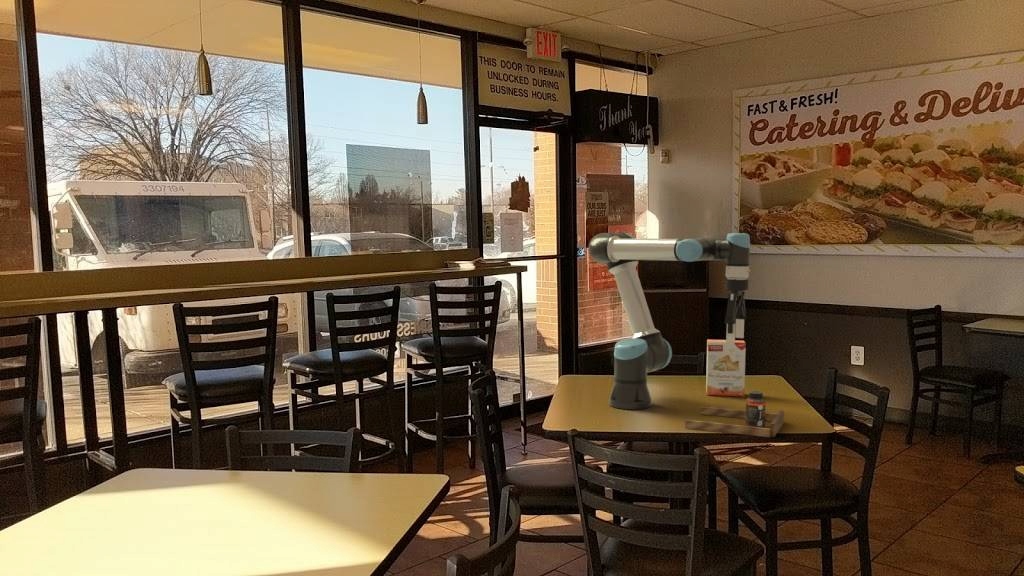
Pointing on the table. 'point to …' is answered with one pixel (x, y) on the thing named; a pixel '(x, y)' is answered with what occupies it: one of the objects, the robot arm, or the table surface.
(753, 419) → the supplement bottle
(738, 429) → the bay
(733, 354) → the cracker box
